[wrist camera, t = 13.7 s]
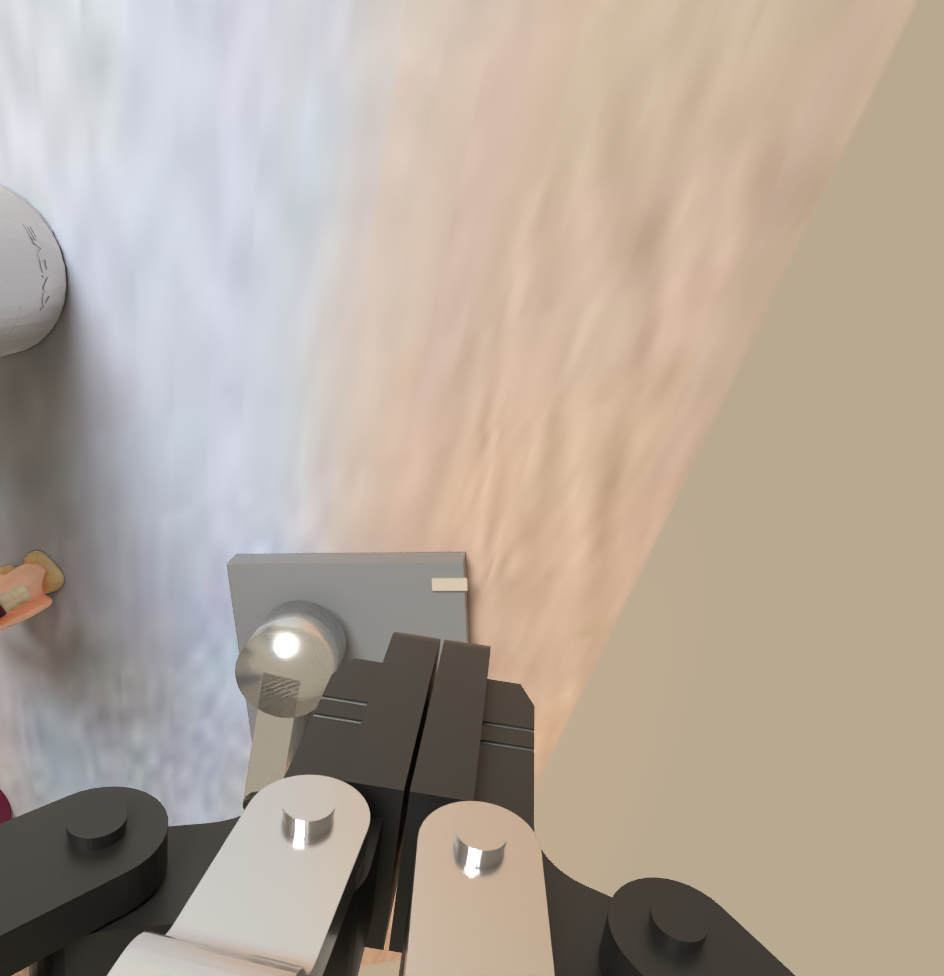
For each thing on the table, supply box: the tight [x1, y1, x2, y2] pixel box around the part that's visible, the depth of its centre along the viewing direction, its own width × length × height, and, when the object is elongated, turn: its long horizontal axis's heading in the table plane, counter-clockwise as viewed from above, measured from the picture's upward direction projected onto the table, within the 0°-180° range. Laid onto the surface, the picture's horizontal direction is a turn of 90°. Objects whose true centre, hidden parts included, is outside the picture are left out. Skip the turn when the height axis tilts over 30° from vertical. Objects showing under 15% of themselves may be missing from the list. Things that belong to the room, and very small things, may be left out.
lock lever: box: [235, 600, 346, 810], centre depth 45 cm, size 12×5×4 cm, turn 168°
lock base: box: [227, 552, 470, 743], centre depth 48 cm, size 14×14×2 cm
